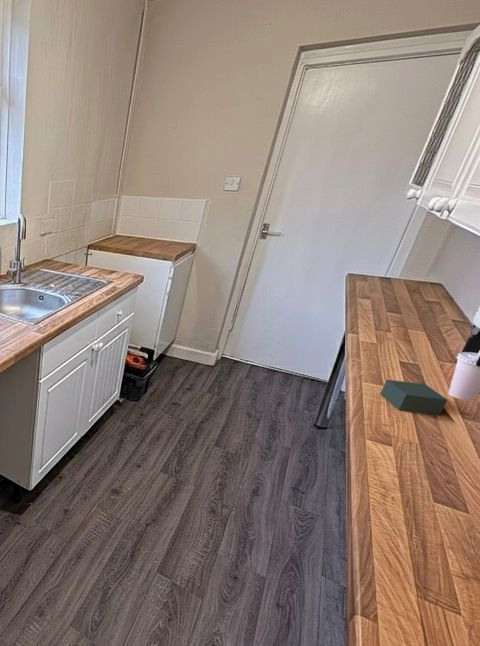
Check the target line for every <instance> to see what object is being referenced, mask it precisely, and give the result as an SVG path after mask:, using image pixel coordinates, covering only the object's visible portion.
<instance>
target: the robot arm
mask: <svg viewBox="0 0 480 646" xmlns="http://www.w3.org/2000/svg"><path fill="white" fill-rule="evenodd" d="M472 323H473V325H472V330H471V331H470V333H469V337H468V339H467V341H466V342H465V344H464V346H463V348H462V350H461V352H472V353H479V351H480V305H479V306H478V309H477V310H476V312H475V314H474V317H473V320H472ZM476 365H477V366H479V367H480V356H479V358H478V360H477V362H476Z"/></svg>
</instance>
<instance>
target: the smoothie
mask: <svg viewBox="0 0 480 646" xmlns="http://www.w3.org/2000/svg"><path fill="white" fill-rule="evenodd" d="M479 356H480V351H479V353H472V352H462V351H461V352H458V354H457V355H456V359H457V362H456V364H455V369H454V372H453V376H452V380H451V383H450V386H449V388H448V396H450V397H453V398H455V399H458V400H462V401H469V402H470V401H473V400H474V398H476V396H477V395H478V393H479V392H480V367H479V366H477V365H476V362H477V360H478V358H479Z"/></svg>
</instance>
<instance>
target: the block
mask: <svg viewBox="0 0 480 646" xmlns="http://www.w3.org/2000/svg"><path fill="white" fill-rule="evenodd" d="M379 395H380V396H381V397H383V398H384V399H385V400H386V401H387V402H388V403H389V404H391V405H392V406H393V407H394V408H396V409H397V410H398V411H402V412H410V413H411V412H412V413H418V414H424V415H425V414H427V415H434V416H440V415H441V413H442V412H443V409H444V408H445V406H446V404H447V402H448V399H447V398H446V397H445V396H443V395H442V394H440V393H439V392H437V391H436V390H435V389H433V388H431V387H430V386H429V385H427V384H426V383H419V382H412V381H411V382H410V381H403V380H393V379H386V380H385V382H384V385H383V387H382V389H381V391H380V394H379Z"/></svg>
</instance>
